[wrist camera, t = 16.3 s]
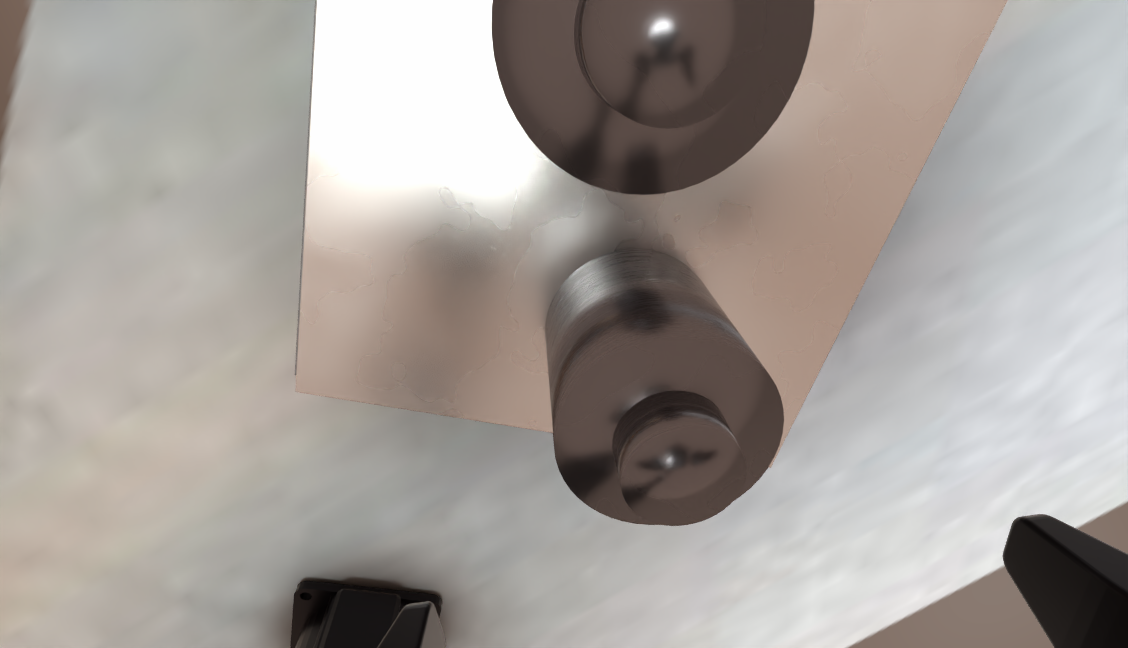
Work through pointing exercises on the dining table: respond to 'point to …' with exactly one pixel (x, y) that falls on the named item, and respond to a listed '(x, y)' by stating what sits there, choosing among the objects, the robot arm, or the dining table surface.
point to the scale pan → (589, 203)
